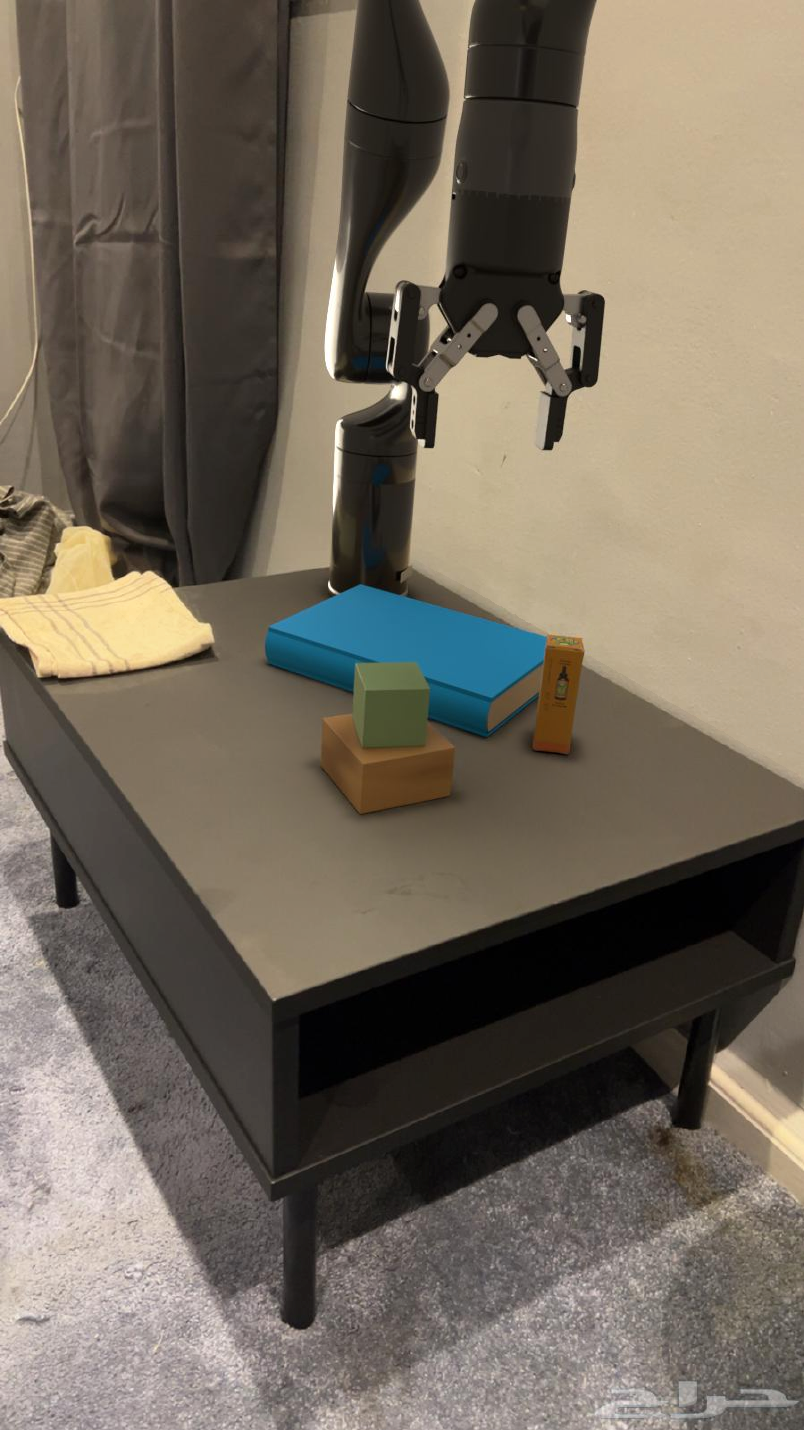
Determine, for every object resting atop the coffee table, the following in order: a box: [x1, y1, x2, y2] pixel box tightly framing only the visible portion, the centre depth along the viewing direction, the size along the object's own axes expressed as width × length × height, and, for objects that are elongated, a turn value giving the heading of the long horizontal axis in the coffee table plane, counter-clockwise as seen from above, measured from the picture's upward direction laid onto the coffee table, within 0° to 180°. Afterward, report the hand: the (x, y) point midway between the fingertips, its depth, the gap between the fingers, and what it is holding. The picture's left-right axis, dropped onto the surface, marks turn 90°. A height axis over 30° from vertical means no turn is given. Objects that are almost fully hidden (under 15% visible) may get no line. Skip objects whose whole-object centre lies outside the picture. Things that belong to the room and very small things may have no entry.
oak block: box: [320, 712, 456, 815], centre depth 85 cm, size 8×8×4 cm
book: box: [264, 584, 547, 738], centre depth 105 cm, size 17×4×25 cm
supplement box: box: [532, 634, 586, 755], centre depth 91 cm, size 3×3×10 cm
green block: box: [351, 662, 430, 748], centre depth 83 cm, size 5×5×5 cm
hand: (484, 447), depth 73 cm, fingers open, 8 cm apart
